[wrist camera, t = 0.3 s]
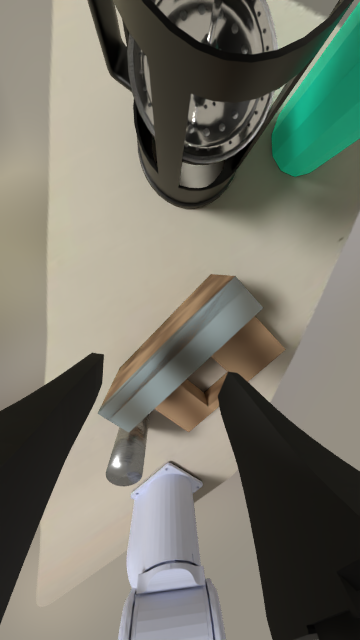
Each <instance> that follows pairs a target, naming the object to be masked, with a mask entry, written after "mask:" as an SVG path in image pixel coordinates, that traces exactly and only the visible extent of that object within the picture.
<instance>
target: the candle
mask: <svg viewBox="0 0 360 640" xmlns="http://www.w3.org/2000/svg"><path fill="white" fill-rule="evenodd" d="M271 138H272V156H273V158H274V160H275V161H276V163H277V165H278V167H279V168H280V170H281V171H283V172H285V173H287V174H289V175H291V176H294V177H296V176H300V175H304V174H308V173H311V172H312V171H313V170H315V169H316V168H318V167H319V166H321V165H322V164H324V163H325V162H327V161H328V160H329V159H331V158H332V157H334V156H335V155H337V154H338V153H340V152H341V151H342V150H344V149H345V148H347V147H348V146H350V145H351V144H353V143H354V142H356V141H357V140H358V139H360V2H359V3H358V5H357V6H356V8H355V9H354V11H353V12H352V13H351V15H350V16H349V17H348V19H347V20H346V22H345V23H344V24H343V26H342V27H341V29H340V30H339V31H338V33H337V34H336V36H335V37H334V38H333V40H332V41H331V43H330V44H329V45H328V47H327V48H326V50H325V51H324V52H323V54H322V55H321V57H320V58H319V59H318V61H317V62H316V64H315V65H314V66H313V68H312V69H311V71H310V72H309V73H308V75H307V76H306V78H305V79H304V80H303V82H302V83H301V85H300V86H299V87H298V89H297V90H296V92H295V93H294V94H293V96H292V97H291V99H290V100H289V101H288V103H287V104H286V106H285V107H284V108H283V110H282V111H281V113H280V114H279V116H278V118H277V121H276V124H275V127H274V130H273V132H272V135H271Z"/></svg>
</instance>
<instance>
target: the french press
mask: <svg viewBox="0 0 360 640" xmlns="http://www.w3.org/2000/svg"><path fill="white" fill-rule="evenodd" d="M353 1H354V0H339V1H338V3H337V4H336V6H335V8H334V9H333V11H332V12H331V14H330V16H329V17H328V19H326V20H325V21H324V22H323V23H321V24H320V25H319V26H318V27H316V28H315V29H314V30H313V31H311V32H310V33H309V34H307V35H306V36H305V37H303V38H301V39H299V40H297V41H295V42H293V43H291V44H289V45H287V46H285V47H283V48H280V49H278V44H277V38H276V31H275V25H274V22H273V19H272V15H271V12H270V9H269V6H268V4H267V2H266V0H88V4H89V7H90V11H91V14H92V17H93V21H94V24H95V28H96V31H97V34H98V38H99V41H100V45H101V48H102V51H103V55H104V58H105V62H106V65H107V68H108V71H109V73H110V75H111V76H112V77H113V78H114V79H115V80H116V81H118V82H119V83H120V84H122V85H123V86H124V87H126V88H127V89H128V90H130V91H131V92H132V93H133V96H134V105H133V109H134V124H135V128H136V133H137V143H138V153H139V158H140V163H141V166H142V169H143V171H144V174H145V176H146V178H147V180H148V182H149V183H150V185H151V187H152V188H153V189H154V190H155V191H156V192H157V194H158V195H159V196H161V197H162V198H163V199H164V200H166V201H167V202H169V203H171V204H173V205H175V206H178V207H182V208H198V207H203V206H205V205H207V204H209V203H212V202H213V201H214V200H216V199H217V198H218V197H220V196H221V194H222V193H223V192H224V191H225V190H226V189H227V187H228V186H229V184H230V183H231V181H232V180H233V178H234V175H235V173H236V170H237V169H238V167H239V166H240V164H241V163H242V162H243V160H244V159H245V157H246V156H247V154H248V153H249V151H250V150H251V149H252V147H253V146H254V144H255V143H256V141H257V140H258V138H259V137H260V135H261V134H262V133H263V131H264V130H265V128H266V127H267V125H268V124H269V122H270V121H271V120H272V118H273V117H274V115H275V114H276V112H277V111H278V109H279V108H280V106H281V105H282V104H283V102H284V101H285V99H286V98H287V96H288V95H289V93H290V92H291V91H292V89H293V88H294V86H295V85H296V83H297V82H298V80H299V79H300V77H301V76H302V75H303V73H304V72H305V70H306V69H307V67H308V66H309V64H310V63H311V62H312V60H313V59H314V57H315V56H316V54H317V53H318V51H319V50H320V48H321V47H322V46H323V44H324V43H325V41H326V40H327V38H328V37H329V35H330V34H331V33H332V31H333V30H334V28H335V27H336V25H337V24H338V22H339V21H340V19H341V18H342V17H343V15H344V14H345V12H346V11H347V9H348V8H349V6H350V5H351V4H352V2H353ZM114 3H115V4H114ZM115 5H116V7H117V9H118V11H119V13H120V15H121V17H122V21H123V26H124V32H125V37H126V43H127V47H126V46H125V44H124V43H123V41H122V39H121V35H120V30H119V25H118V20H117V15H116V10H115ZM284 84H286V85H285V86H284V88H283V89H282V91H281V93H280V94H279V96H278V97H277V99H276V100H275V102H274V104H273V105H272V107H271V108H270V106H271V103H272V99H273V95H274V92H275V90H277V89H279V88H280V87H282V86H283V85H284ZM269 108H270V110H269ZM152 137H154V138H155V142H156V153H157V164H158V167H157V165H156V162H155V159H154V156H153V151H152ZM225 159H226V160H225ZM223 160H225V164H224V167H223V169H222V171H221V173H220V175H219V176H218V177H217V178H216V180H215V181H214V182H213V183H211V184H210V185H209V186H207V187H203V188H188V187H184V186H180V185H179V180H180V173H181V166H182V162H185V163H188V164H193V165H209V164H214V163H218V162H220V161H223Z"/></svg>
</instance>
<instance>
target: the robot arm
mask: <svg viewBox="0 0 360 640" xmlns="http://www.w3.org/2000/svg"><path fill="white" fill-rule="evenodd" d="M103 360H104V354H96V353H91V354H89V355H88V356H87V357H85V358H84V359H82V360H81V361H80V362H78V363H77V364H75V365H74V366H73V367H71V368H70V369H68V370H67V371H65V372H64V373H63V374H61V375H60V376H58V377H57V378H55V379H54V380H52V381H51V382H49V383H47V384H46V385H44V386H43V387H41V388H39V389H38V390H36V391H35V392H33V393H31V394H30V395H28V396H26V397H25V398H23V399H21V400H20V401H18V402H16V403H15V404H12V405H11V406H9V407H7V408H5V409H3V410H1V411H0V623H1V621H2V618H3V615H4V613H5V610H6V608H7V605H8V602H9V600H10V597H11V594H12V592H13V589H14V587H15V584H16V581H17V579H18V576H19V573H20V571H21V568H22V566H23V563H24V560H25V558H26V556H27V553H28V550H29V548H30V545H31V543H32V540H33V538H34V535H35V532H36V530H37V528H38V525H39V523H40V520H41V518H42V515H43V513H44V510H45V508H46V505H47V503H48V501H49V498H50V496H51V493H52V491H53V488H54V486H55V484H56V481H57V479H58V477H59V474H60V472H61V469H62V467H63V465H64V462H65V460H66V458H67V456H68V454H69V452H70V450H71V448H72V446H73V444H74V442H75V440H76V438H77V436H78V434H79V432H80V430H81V428H82V426H83V424H84V422H85V421H86V419H87V417H88V415H89V413H90V411H91V409H92V407H93V405H94V403H95V401H96V398H97V396H98V393H99V390H100V388H101V385H102V377H103ZM218 401H219V406H220V411H221V415H222V418H223V422H224V425H225V428H226V431H227V434H228V437H229V440H230V443H231V446H232V449H233V452H234V455H235V459H236V462H237V465H238V469H239V473H240V477H241V482H242V486H243V490H244V494H245V499H246V504H247V508H248V513H249V518H250V523H251V528H252V533H253V538H254V544H255V548H256V554H257V560H258V566H259V572H260V578H261V584H262V590H263V596H264V603H265V610H266V617H267V621H268V625H269V628H270V632H271V635H272V639H273V640H360V471H358V470H357V469H355V468H354V467H352V466H351V465H349V464H348V463H346V462H345V461H343V460H342V459H340V458H339V457H338V456H336V455H334V454H333V453H332V452H330V451H329V450H328V449H326V448H325V447H323V446H322V445H321V444H319V443H318V442H316V441H315V440H314V439H312V438H311V437H310V436H309V435H307V434H306V433H305V432H304V431H302V430H301V429H299V428H298V427H297V426H296V425H295V424H294V423H292V422H291V421H290V420H288V418H286V417H285V416H284V415H283V414H282V413H281V412H280V411H278V410H277V409H276V408H275V407H274V406H273V405H272V404H271V403H270V402H268V401H267V400H266V399H265V398H264V397H263V396H262V395H261V394H260V393H259V392H258V391H257V390H256V389H255V388H254V387H253V386H251V385H250V384H249V383H248V382H247V381H246V380H245V379H244V378H243V377H242V376H241V375H240V374H238V373H236V372H228V373H227V375H226V378H225V380H224V382H223V385H222V387H221V389H220V392H219V394H218ZM202 486H203V483H202V481H200V480H198V479H197V478H195V477H193V476H192V475H190V474H188V473H187V472H185V471H183V470H182V469H180V468H178V467H177V466H175V465H173V464H172V463H167V464H166V465H165V466H163V467H162V468H161V469H160V470H159V471H157V472H156V473H155V474H154V475H153V476H151V477H150V478H149V479H148V480H147V481H145V482H144V483H143V484H142V485H141V486H139V487H138V488H137V489H136V490H135V491H134V492H132V493H131V498H132V499H134V500H135V501H134V508H133V515H132V522H131V529H130V536H129V543H128V550H127V572H128V577H129V581H130V584H131V587H132V589H131V591H130V594H129V595H128V597H127V599H126V601H125V603H124V607H123V612H122V618H121V623H120V630H119V637H118V640H226V637H225V631H224V624H223V618H222V612H221V607H220V602H219V597H218V593H217V590H216V588H215V586H214V585H213V584H212V582H211V579H210V578H207V579H205V575H204V567H203V566H201V562H200V554H199V545H198V536H197V527H196V518H195V510H194V501H193V493H194V492H196V491H197V490H198V489H200V488H201V487H202Z"/></svg>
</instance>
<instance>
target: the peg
mask: <svg viewBox="0 0 360 640" xmlns="http://www.w3.org/2000/svg"><path fill="white" fill-rule="evenodd" d="M148 424H149V414H148V415H147V416H146V417H145V418H144V419H143V420H142V421H141V422H140V423H139V424H137V425H136V426H135V427H134V428H133V429H132V430H131V431H130V432H127V431H125V430H124V429H122V428H119V431H118V434H117V437H116V441H115V444H114V447H113V451H112V454H111V457H110V461H109V464H108V467H107V470H106V478H107V479H108V481H109V482H111V483H112V484H114V485H118V486H129V485H133V484H135V483H137V482H138V481H139V480H140V479H141V477H142V473H143V465H144V457H145V449H146V440H147V432H148Z"/></svg>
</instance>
